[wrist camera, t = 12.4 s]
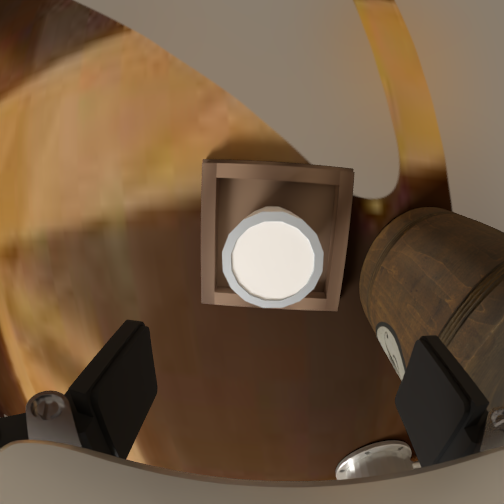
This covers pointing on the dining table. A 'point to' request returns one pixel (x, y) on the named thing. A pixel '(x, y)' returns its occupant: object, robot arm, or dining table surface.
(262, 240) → the white cup
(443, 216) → the wooden container
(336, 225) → the square wooden tray
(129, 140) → the dining table surface
